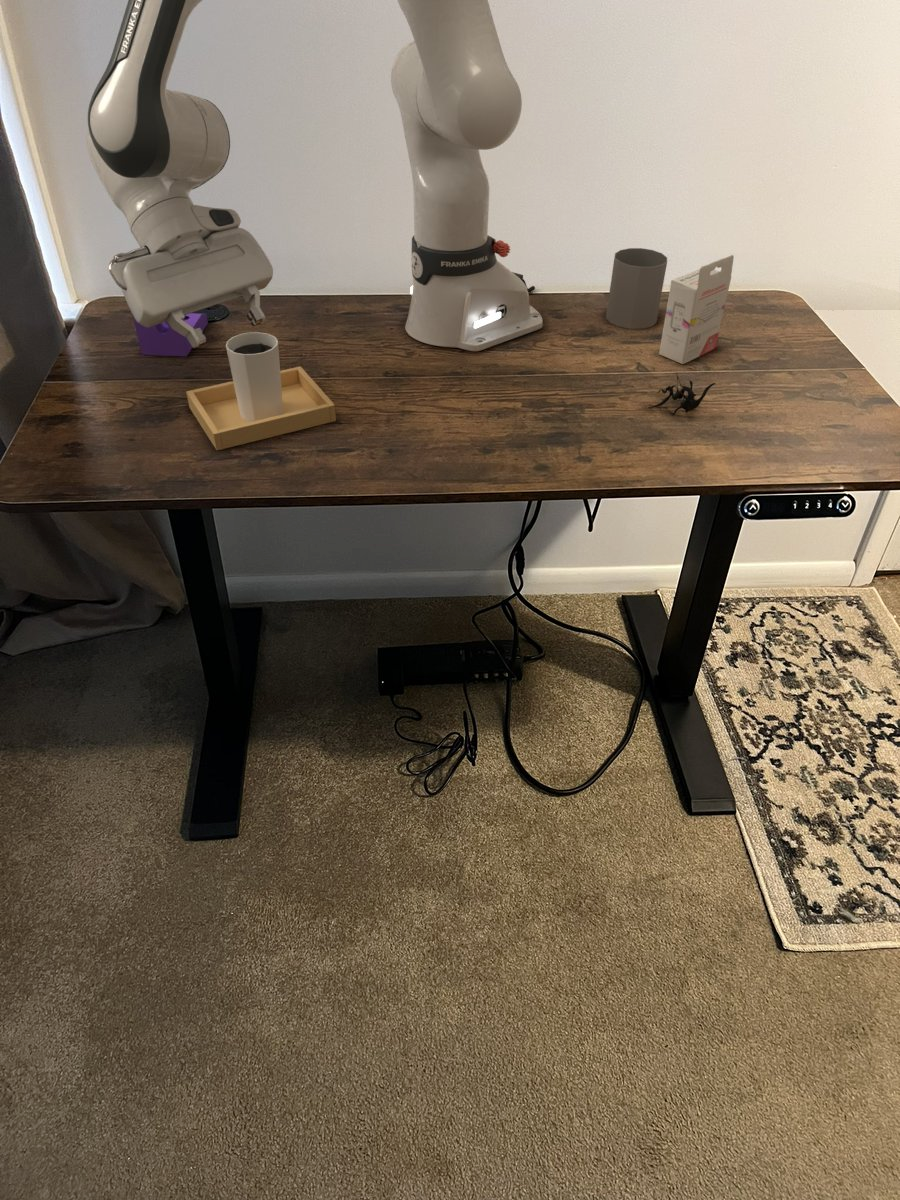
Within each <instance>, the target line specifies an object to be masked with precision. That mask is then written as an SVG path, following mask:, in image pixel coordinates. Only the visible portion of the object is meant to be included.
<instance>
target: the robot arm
mask: <svg viewBox="0 0 900 1200" xmlns="http://www.w3.org/2000/svg"><path fill="white" fill-rule="evenodd" d="M201 2H203V0H128V1H127V3H126V7H125V11H124V13H123V17H122V21H121V24H120V26H119V30H118V33H117V37H116V40H115V43H114V47H113V50H112V53H111V56H110V59H109V61H108V64H107V66H106V69H105V70H104V72H103V74H102V77H101V78H100V80H99V82H98V83H97V85H96V87H95V89H94V91H93V93H92V95H91V98H90V101H89V105H88V109H87V127H88V128H87V133H86V147H87V151H88V154H89V159H90V160H91V161H90V162H91V163H92V166H93V167H94V168H93V169H94V170H95V172H96V174H97V176H98V178H99V180H100V182H101V183H102V186H103V187H104V189H105V191H106V192H107V194H108V196H109V198H110V199H111V202H113V204H114V205H115V207H116V208H118V209H119V210H120V211H121V212H122V214H123V215H124V217H125V218H126V222H127V224H128V228H129V230H130V233H131V235H132V236H133V237H134V239H135V241H136V242H137V244H138V246H139V247H138V248H135V249H132V250H130V251H127V252H120V253H117V254H115V255H113V259H112V260H110V262H109V264H108V272H109V274H110V276H111V277H112V279H113V281H114V283H115V284H116V286H118V287H119V288H120V289H121V291H122V294H123V296H124V299H125V301H126V303H127V305H128V308H129V310H130V312H131V314H133V315H132V317H133V316H134V318H135V319H136V321H137V322H138V323H139V324H141V325H143V326H145V327H151V326H154V325H157V324H160V323H163V322H166V321H168V323H169V325H170V326H171V328H172V329H173V330H175V331H177V332H178V333H180V334H181V335H183V336H184V337H187V339H188V341H189V342H190V344H191V346H192V349H195V348H199V347H201V346H204V345H205V343H206V342H207V337H206V335H205V334H203V332H202V330H201V329H200V328H197V329H194V328H192V327H191V326H190V325H188V324H187V323H186V322H184V321H183V319H184V317H185V316H184V315H187V314H190V313H195V312H198V311H202V310H205V309H207V308H211V307H214V306H216V305H220V304H222V303H225V302H228V301H231V300H234V299H237V298H240V297H242V298H243V300H244V301H245V302H246V303H249V307H250V309H249V312H248V313H247V314H246V319H248V321H250V325H251V326H252V327H255V326H259V325H261V324H264V322H265V321H266V315H265V314H264V312H263V310H262V308H261V292H260V290H263V289H265V288H266V287H267V286H268V285H269V284H270V283H271V281H272V279H273V276H274V268H273V267H274V266H273V265H272V263H271V262H270V259H269V258H268V256H267V255H266V253H265V251H264V250H263V248H262V247H261V245H260V244H259V243H258V241H257V239H256V238H255V237H254V235H253V234H252V233H250V231H248V230H247V229H245V228H242V227H240V225H241V224H242V223H241V222H242V220H241V217H240V216H239V213H238V212H237V211H236V210H235V209H232V208H221V207H220V208H219V207H210V206H203V205H198V204H194V202H193V201H192V198H191V197H190V192H191V191H192V190H195V189H197V188H200V187H201V186H202V185H205V184H207V182H209V181H210V180H212V179H213V178H214V177H216V176H217V175H218V174H220V173H221V171H222V170H223V169H224V168H225V165H226V164H227V162H228V159H229V155H230V151H231V137H230V136H231V135H230V130H229V126H228V123H227V121H226V119H225V117H224V114H223V113H222V111H221V110H220V109H219V108H218V107H217V106H216V105H215V104H214V103H213V102H212V101H210V100H208V99H205V98H203V97H200V96H197V95H193V94H190V93H187V92H182V91H178V90H171V89H167V84H168V80H169V77H170V73H171V71H172V68H173V64H174V62H175V59H176V55H177V53H178V50H179V46H180V43H181V40H182V37H183V34H184V31H185V27H186V24H187V23H188V19H189V18H190V16H191V14H192V12H193V11H194V10H195V8H196V7H197V6H198V5H199V4H200V3H201ZM397 3H398V6H399V7H400V9H401V11H402V13H403V15H404V17H405V19H406V22H407V24H408V27H409V29H410V31H411V34H412V37H413V40H412V41H410V42H409V43H407V44H406V45H404V46H402V48H401V49H400V51H399V52H398V53H397V55H396V57H395V59H394V61H393V63H392V68H391V71H390V85H391V90H392V94H393V97H394V98H395V101H396V103H397V107H398V109H399V113H400V117H401V122H402V128H403V134H404V139H405V144H406V150H407V154H408V159H409V166H410V171H411V177H412V178H411V179H412V189H413V222H414V223H413V235H412V237H411V255H410V256H411V258H410V262H411V273H412V274H411V275H412V279H413V280H412V281H413V282H412V286H410V288H409V289H410V295H411V298H410V303H409V304H410V305H409V310H408V314H407V318H406V321H405V324H404V329H405V332H406V333H407V335H408V336H410V337H411V338H412V339H414V340H416V341H418V342H421V343H424V344H427V345H431V346H434V347H435V346H437V347H442V348H443V347H444V348H457V349H461V350H465V351H468V352H480V351H483V350H486V349H488V348H491V347H494V346H497V345H499V344H502V343H505V342H507V341H510V340H514V339H516V338H519V337H522V336H524V335H527V334H529V333H532V332H536V331H538V330H541V329H542V328H543V326H544V323H543V322H544V321H543V317H542V315H541V314H540V312H539V311H538V310H537V309H536V308H534V306H532V305H531V303H530V295H529V294H530V293H532V292H533V291H534V290H536V286H535V285H532V286H530V287H529V288H528V286H527V282H526V280H525V279H524V274H522V273H517V272H514V271H511V270H510V269H509V268H508V267H506V266H505V265H504V264H502V263H501V262H500V261H499V260H498V259H497V255H498V256H499V257H501V258H506V257H507V256H509V254H510V253H511V246H510V245H509V243H507V242H504V241H503V240H501V239H499V240H497V241H496V239H495V238H494V237H492V236H490V235H489V234H488V232H489V230H488V229H489V213H490V212H489V211H490V209H489V208H490V182H489V178H488V175H487V173H486V170H485V168H484V165H483V162H482V158H481V153H480V151H481V150H483V151H485V150H493V149H495V148H498V147H500V146H501V145H503V144H504V143H505V142H507V141H508V140H509V138H511V136H513V133H514V132H515V130H516V128H517V126H518V124H519V121H520V118H521V114H522V107H523V106H522V105H523V102H522V100H523V99H522V93H521V90H520V87H519V86H520V85H519V83H518V82H517V80H516V79H515V77H514V76H513V75H514V74H513V73H512V71H511V70H510V67H509V66H508V63H507V62H506V58H505V55H504V52H503V49H502V47H501V46H502V45H501V42H500V38H499V35H498V31H497V28H496V24H495V21H494V18H493V14H492V10H491V7H490V3H489V0H397ZM496 254H497V255H496Z"/></svg>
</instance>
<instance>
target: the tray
mask: <svg viewBox="0 0 900 1200" xmlns="http://www.w3.org/2000/svg"><path fill="white" fill-rule="evenodd" d="M280 375H281V388H282V402H283V414H282V415H278V416H274V417H270V418H266V419H262V420H257V421H253V422H248V421H246V420H244V419H243V418H242V417H241V415H240V410H239V406H238V401H237V396H236V392H235V387H234V382H233V380H232V381H227V382H223V383H219V384H213V385H210V386H205V387H200V388H196V389H192V390H190V389H189V390H186V392H185V394H186V397H187V403H188V407H189V409H190V411H191V413H192V414H193V416H194V418H195V419H196V420H197V422H198V424H199V425H200V426H201V428H202V430H203V431H204V433H205V435H206V436H207V438H208V439H209V441H210V442H211V444H212V445H213V448H214V449H215V450H216V451H221V450H225V449H229V448H233V447H238V446H241V445H245V444H249V443H253V442H257V441H260V440H266V439H269V438H273V437H278V436H281V435H286V434H289V433H293V432H298V431H301V430H305V429H310V428H313V427H317V426H321V425H326V424H330V423H333V422H336V421H337V415H336V404H334V402H333V401H332V400H331V398H329V397H328V395H327V394H326V393H325V392H324V391H323V390H322V389H321V387H320V386H319V385H318V384H317V383H316V382H315V380H314V379H313V378H311V376H310V375H309V374H308V373H307V372H306V371H305V369H304V368H303V367H302V366H295V367H292V368H291V367H290V368H287V369H282V370H281V369H280Z"/></svg>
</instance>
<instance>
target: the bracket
mask: <svg viewBox="0 0 900 1200" xmlns="http://www.w3.org/2000/svg"><path fill="white" fill-rule="evenodd" d="M131 314H132V313H131ZM184 316H185V317H184V319H183V321H184V322H186V323H187V324H188V325H190V326H191V327H192V328H194V329H197V328H200V329H201V330H202V333H203V332H204V330H205V328H206V327H207V325H208V324H209V321H208V315H207V313H198V312H197V313H195V312H193V313H190V314H187V315H184ZM132 319H133V323H134V327H135V331H136V337H137V340H138V344H139V348H140V353H141V355H142V356H163V357H164V356H165V357H188V355H189V353H191V351H192V349H193V347H192V346H191V344H190V342H189V341H188V339H187V337H184V336H183V335H181V334H180V333H178V332H177V331H175V330H173V329H172V328H171V326H170V325H169V323H168V321H166V322H163V323H160V324H157V325H154V326H151V327H145V326H143V325H141V324H139V323H138V322H137V321H136V319H135V318H134V316H133V314H132Z"/></svg>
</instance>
